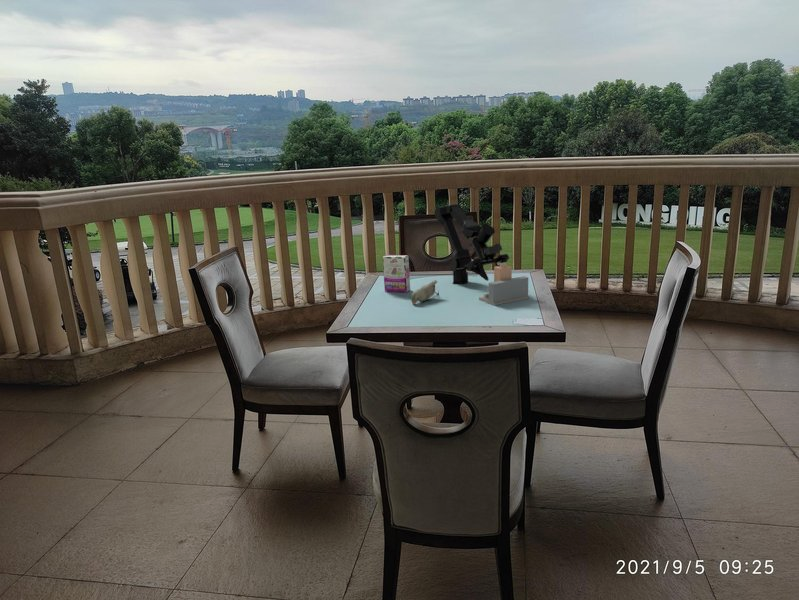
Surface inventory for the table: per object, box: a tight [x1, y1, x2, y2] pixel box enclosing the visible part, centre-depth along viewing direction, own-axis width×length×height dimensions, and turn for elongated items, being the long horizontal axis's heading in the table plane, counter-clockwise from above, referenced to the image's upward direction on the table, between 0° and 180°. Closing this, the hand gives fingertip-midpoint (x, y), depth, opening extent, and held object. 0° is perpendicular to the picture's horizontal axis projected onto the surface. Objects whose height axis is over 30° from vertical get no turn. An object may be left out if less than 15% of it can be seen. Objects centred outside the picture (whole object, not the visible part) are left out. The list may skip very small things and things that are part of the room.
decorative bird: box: [411, 279, 440, 306], centre depth 232 cm, size 5×16×8 cm, turn 138°
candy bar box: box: [382, 254, 411, 293], centre depth 247 cm, size 11×5×16 cm, turn 68°
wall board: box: [478, 275, 530, 306], centre depth 228 cm, size 11×18×9 cm, turn 117°
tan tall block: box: [493, 262, 513, 282], centre depth 228 cm, size 4×6×15 cm, turn 117°
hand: (496, 278), depth 231 cm, fingers open, 9 cm apart
